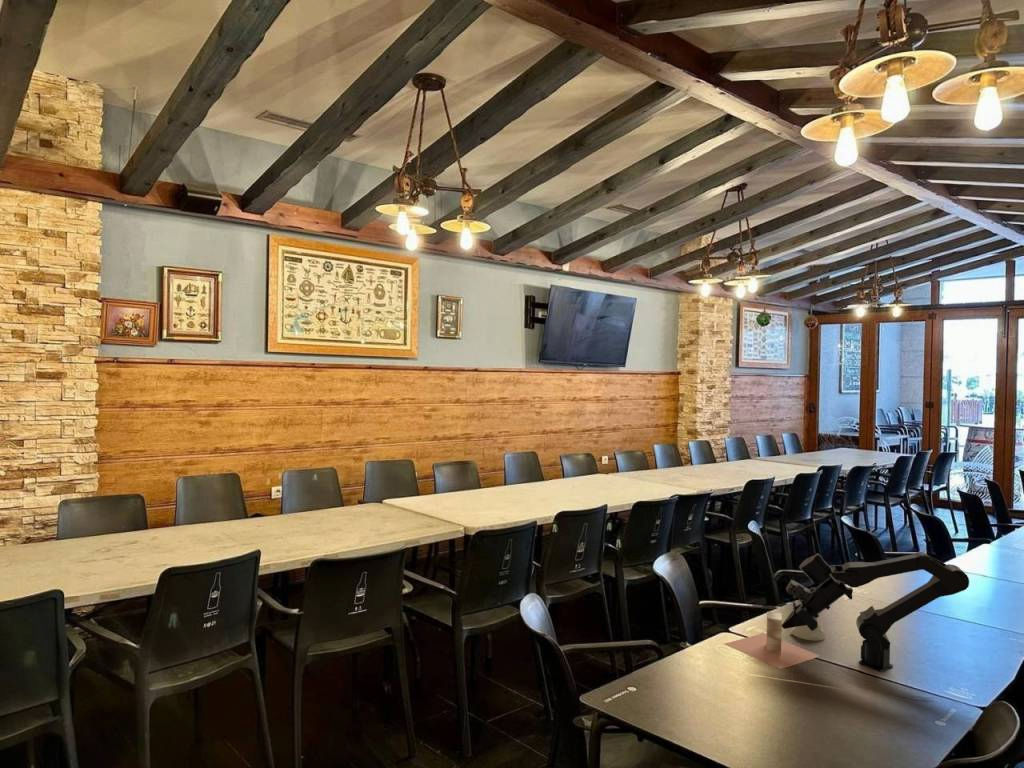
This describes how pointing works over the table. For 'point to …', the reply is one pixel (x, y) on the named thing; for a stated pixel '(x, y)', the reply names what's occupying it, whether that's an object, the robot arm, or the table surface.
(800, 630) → the seashell
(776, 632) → the birch block
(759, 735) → the table surface
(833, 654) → the table surface
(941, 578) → the robot arm
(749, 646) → the rubber mat
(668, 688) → the table surface
